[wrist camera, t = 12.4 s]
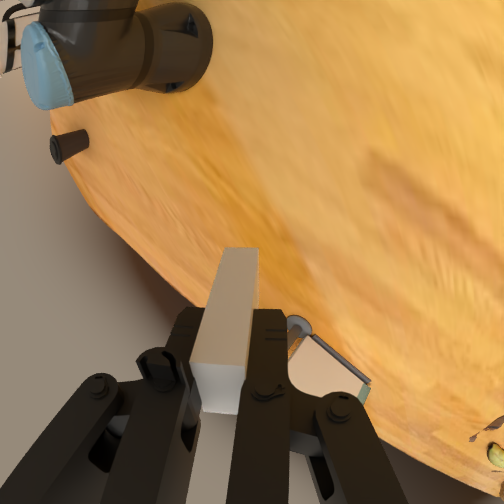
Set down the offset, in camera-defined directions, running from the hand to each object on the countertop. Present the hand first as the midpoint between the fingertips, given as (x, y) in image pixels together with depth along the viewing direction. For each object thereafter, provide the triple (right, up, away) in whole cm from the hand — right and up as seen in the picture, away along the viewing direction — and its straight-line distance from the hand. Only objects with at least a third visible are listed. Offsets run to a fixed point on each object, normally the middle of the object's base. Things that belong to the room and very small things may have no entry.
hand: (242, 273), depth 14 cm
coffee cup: (-43, +31, +49) cm, 72 cm away
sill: (+14, -17, +35) cm, 41 cm away
